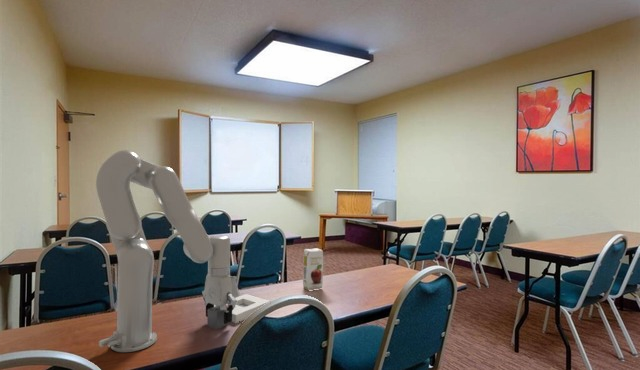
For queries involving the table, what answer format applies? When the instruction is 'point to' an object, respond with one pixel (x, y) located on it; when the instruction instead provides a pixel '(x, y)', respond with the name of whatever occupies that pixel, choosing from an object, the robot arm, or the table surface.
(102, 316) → the table surface
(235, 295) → the flask
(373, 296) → the table surface
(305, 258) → the juice carton
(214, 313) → the plug
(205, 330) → the table surface
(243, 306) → the socket plate
